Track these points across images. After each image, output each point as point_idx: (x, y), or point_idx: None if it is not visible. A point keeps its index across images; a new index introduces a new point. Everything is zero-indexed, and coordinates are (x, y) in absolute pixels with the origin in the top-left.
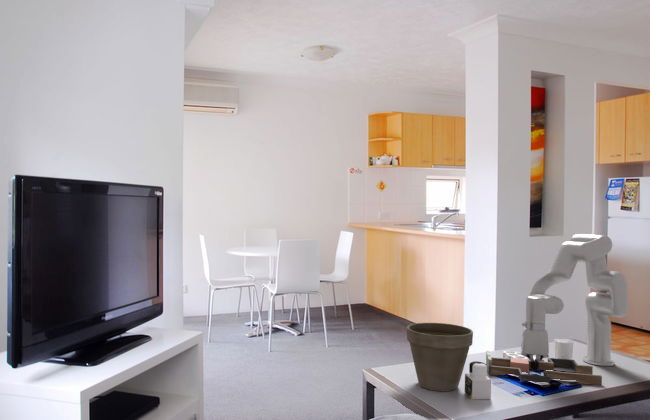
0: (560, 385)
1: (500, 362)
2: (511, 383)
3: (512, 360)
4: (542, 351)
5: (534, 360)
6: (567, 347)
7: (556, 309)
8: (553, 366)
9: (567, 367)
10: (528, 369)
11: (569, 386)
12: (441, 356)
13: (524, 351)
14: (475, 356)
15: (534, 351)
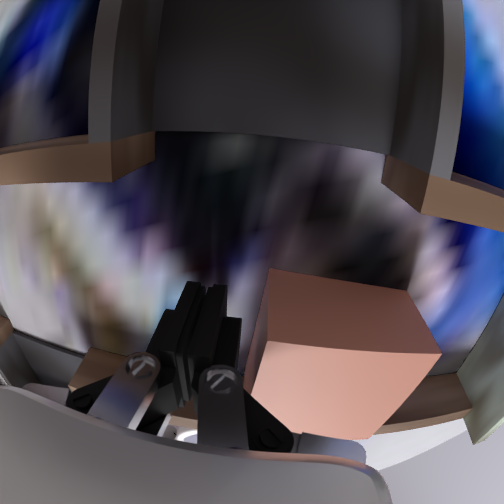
0: (65, 33)
1: (415, 400)
2: (475, 8)
3: (397, 396)
4: (16, 448)
5: (184, 441)
6: None
7: None
8: (77, 371)
9: (53, 386)
10: (271, 298)
11: (22, 47)
12: None
13: (374, 489)
14: (421, 446)
15: (153, 497)
